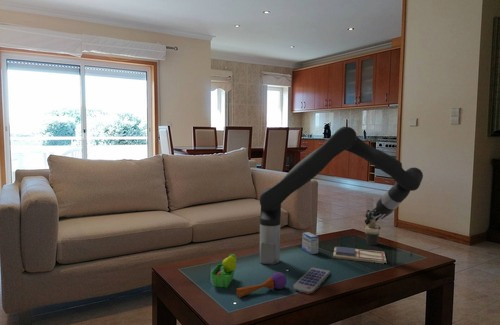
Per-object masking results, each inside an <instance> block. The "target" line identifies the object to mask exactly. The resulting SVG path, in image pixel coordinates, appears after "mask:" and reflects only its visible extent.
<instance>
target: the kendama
mask: <svg viewBox="0 0 500 325" xmlns="http://www.w3.org/2000/svg"><path fill="white" fill-rule="evenodd" d="M285 286H287V277H286V275H285V274H284V273H282V272H277V271H276V272H275V273H272V275H271V277H267V279H266V280H265V281H264V282H263V283H261V284H260V283H259V284H255V285H249V286H243V287H238V288H236V289H235V293H236V296H237V297H238V298H240V299H241V298H243V297H245V296H247V295H249V294H251V293H253V292H256V291H258V290H260V289H262V288H267V289H272V290H273V289H276V290H281V289H283V288H285Z"/></svg>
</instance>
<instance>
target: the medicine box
mask: <svg viewBox="0 0 500 325" xmlns="http://www.w3.org/2000/svg"><path fill="white" fill-rule="evenodd" d="M301 238H302V239H301V243H302V244H301V250H302V251H304V252H306V253H308V254H310V255H316V254H318V253H319V236H318V235H316V234H314V233H311V232H310V231H309V232H308V231H307V232H302V237H301Z"/></svg>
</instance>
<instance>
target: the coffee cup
mask: <svg viewBox="0 0 500 325" xmlns="http://www.w3.org/2000/svg"><path fill="white" fill-rule="evenodd" d="M365 225H366V224H365ZM366 226H369V224H368V225H366ZM375 226H378V227H379V231H380V230H381V227H380V225H377V224H375ZM379 235H380V234H379ZM379 235H368V234H365V239H366V244H367V245H369V246H377V245H378V241H379Z"/></svg>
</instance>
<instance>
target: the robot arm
mask: <svg viewBox="0 0 500 325" xmlns="http://www.w3.org/2000/svg"><path fill="white" fill-rule="evenodd" d="M344 151H347V152H349V153H352V154H354V155H355V156H358V157H360V158H361V159H364V160H365V161H366V162H368V163H369V164H371V165H372V166H374V167H376V168H377V169H378V170H381V171H382V172H383V173H385V174H387V175H389V177H391V178H392V179H393V180H394V182H395V184H394V185H392V186H391V187H390V188H389V190H388V191H386V192H385V193H384V194H383V195H382V196H381V197H380V198H379V199H378V200H377V202H376V205H375V207H373V209H372V210H370V209H368V210H366V212H365V218H366V219H365V220H364V222H365V225H369V223H370V222H371V221H372V220H373V219H376V222H378V221H379V220H383V219H385V218H386V217H387V216H390V215H391V214H392V213H393V212H394V211H395V210H396V209H397V208H398V207H399V206H400V204H401V203H402V202H404V200H405V199H406V198H407V197H408V196H409V194H410V193H411V192H412V191H413V192H414V191H416V190H418V189H419V188H420V185H421V183H422V181H423V178H424V174H423V172H422V170H421V169H420V168H418V167H410V168H407V169H406V170H405V168H403V164H402V162H401V161H399V160H398V159H396V158H395V157H394V156H391V155H389V154H388V153H386V152H384V151H382V150H380V149H377V148H375V147H373V146H371V145H369V144H368V143H366V142H364V141H363V139H360V138H359V136H357V133H356V130H354V128H352V127H350V126H342V127H339V129H337V130H336V131H335V132H333V134H332V135H331V136H330V137H329V138H328V139H327V140H326V141H325V142H324V143H323V144H322V145H320V146H319V147H318V148H316V149H314V150H313V151H312V152H311V153H309V154H307V155H306V156H305V157H304V158H303V159H301V160H300V161H299V162H297V164H295V165H294V166H293V167H292V168H291V169H290V170H289V171H288V172H287V173H286V174H285V176H283V177H282V179H281V180H280V181H279V182H277V183H276V184H275V185H273V186H272V187H271V186H270V187H267V188H266V189H264V190H263V191H262V192H261V194H260V196H259V204H260V216H259V260H260V261H259V262H260V264H264V265H271V266H272V265H273V266H274V265H275V264H278V263H279V262H280V260H281V259H280V258H281V257H280V255H281V253H280V252H281V218H282V217H281V216H282V204H283V202H284V201H285V200H286V199H287V198H288V197H289V196H291V195H292V194H293V193H295V191H298V190H299V189H300V188H302V187H304V186H305V185H306V184H307V183H308V182H310V181H312V180H313V179H314V178H315V177H316V176H317V175H319V174H320V173H321V172H322V171H323V170H324V169H325V168H326V167H327V166H328V165H329V164H330V162H331V161H332V160H333V159H335V158H337V156H338V155H340V154H342V153H343V152H344ZM371 216H372V218H371Z"/></svg>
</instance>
